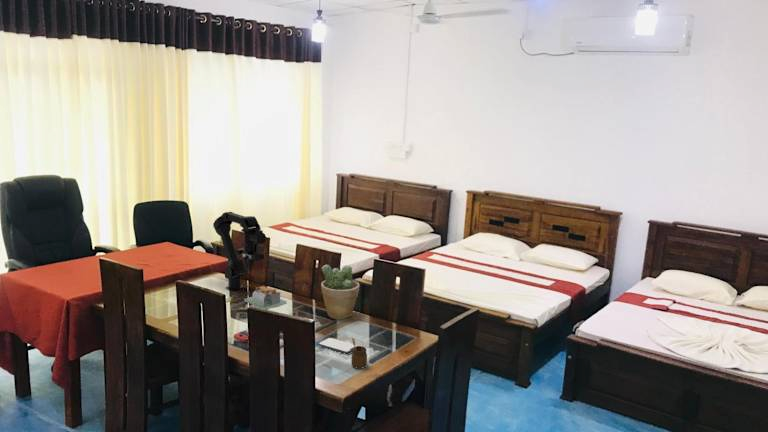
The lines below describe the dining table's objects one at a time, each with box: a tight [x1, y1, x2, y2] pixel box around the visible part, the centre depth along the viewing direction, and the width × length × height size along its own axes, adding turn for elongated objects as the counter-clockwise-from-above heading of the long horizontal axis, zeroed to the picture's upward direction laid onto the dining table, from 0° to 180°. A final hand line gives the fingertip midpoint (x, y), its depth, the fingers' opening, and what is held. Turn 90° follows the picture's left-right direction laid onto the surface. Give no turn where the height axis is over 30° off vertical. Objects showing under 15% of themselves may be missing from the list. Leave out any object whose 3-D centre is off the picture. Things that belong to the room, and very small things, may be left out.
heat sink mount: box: [243, 285, 287, 310], centre depth 288 cm, size 17×13×7 cm
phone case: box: [317, 337, 359, 355], centre depth 237 cm, size 9×2×16 cm
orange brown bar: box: [257, 285, 277, 294], centre depth 286 cm, size 12×3×2 cm, turn 50°
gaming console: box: [233, 329, 249, 344], centre depth 249 cm, size 24×2×10 cm
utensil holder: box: [351, 337, 368, 369], centre depth 220 cm, size 6×6×12 cm
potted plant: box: [320, 264, 360, 320], centre depth 272 cm, size 18×19×25 cm
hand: (250, 270), depth 297 cm, fingers closed
